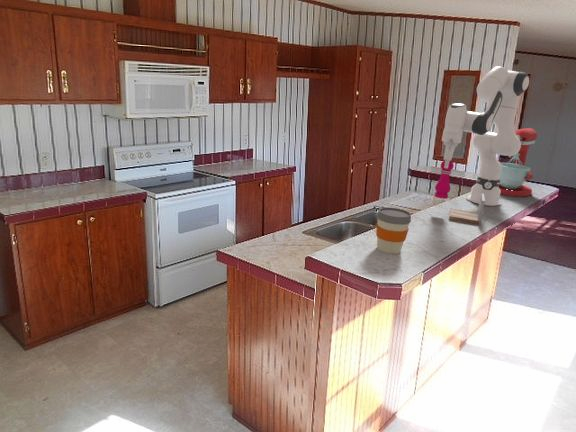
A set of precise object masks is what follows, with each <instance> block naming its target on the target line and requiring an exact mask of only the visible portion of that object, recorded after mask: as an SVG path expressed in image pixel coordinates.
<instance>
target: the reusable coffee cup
mask: <svg viewBox="0 0 576 432" xmlns="http://www.w3.org/2000/svg"><path fill="white" fill-rule="evenodd" d="M376 219H377V223H376V227H375V228H376V231H375V233H376V234H375V235H376V238H377V239H376V243H377V244H376V245H377V246H376V248H377V250H378V251H380V252H382V253H384V254H390V255H391V254H392V255H393V254H394V255H395V254H396V255H397V254H399V253H401V252H402V249H403V245H404V241H406V238H407V235H408V232H409V230H410V229H409V225H410V223H411V221H412V213H411V212H410V211H407V210H406V209H405V210H404V209H400V208H397V207H380V208H379V209H378V211H377V216H376Z"/></svg>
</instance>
